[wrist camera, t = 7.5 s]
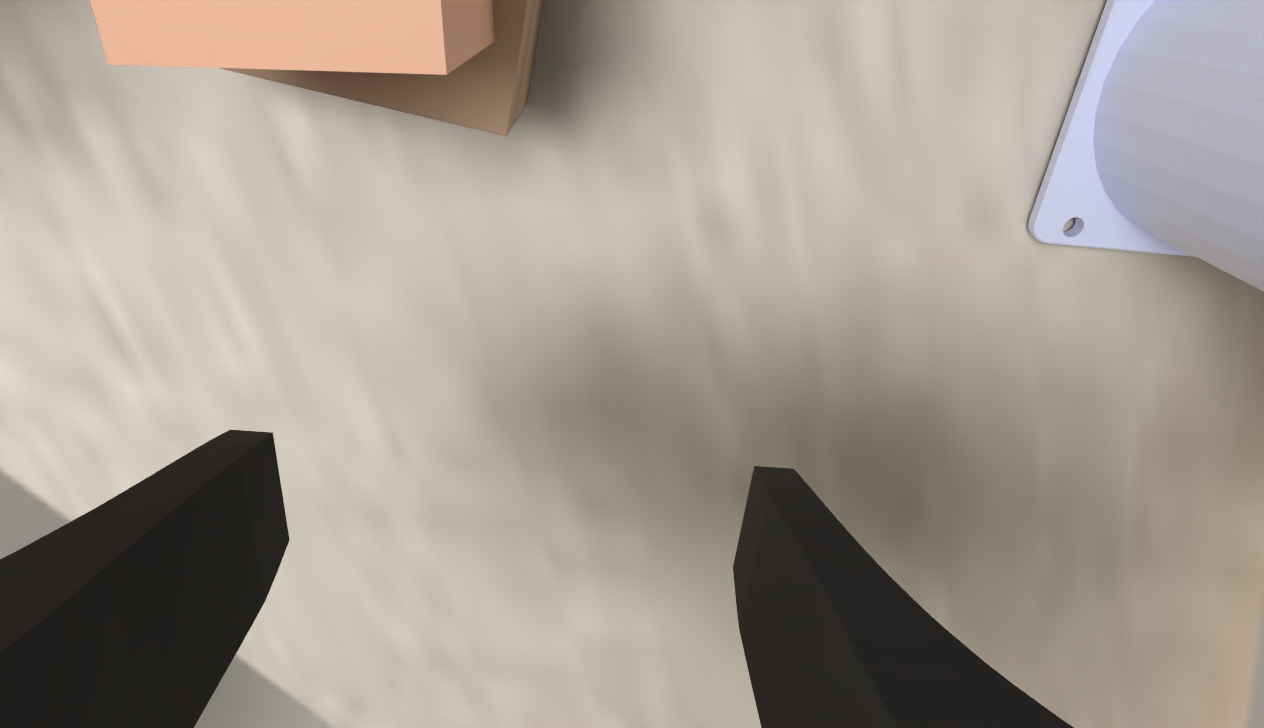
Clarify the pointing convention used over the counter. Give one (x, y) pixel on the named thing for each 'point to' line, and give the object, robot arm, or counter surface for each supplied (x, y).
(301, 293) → the counter surface
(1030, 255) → the counter surface
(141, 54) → the terracotta block
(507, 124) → the walnut block
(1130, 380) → the counter surface
